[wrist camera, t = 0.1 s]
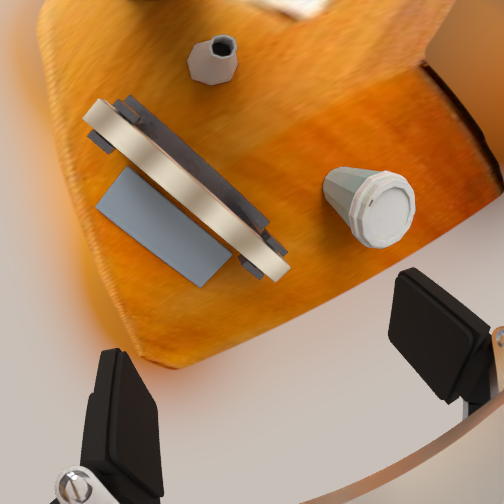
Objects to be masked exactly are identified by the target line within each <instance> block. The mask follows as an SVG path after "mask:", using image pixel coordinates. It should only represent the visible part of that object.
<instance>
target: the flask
mask: <svg viewBox="0 0 504 504" xmlns="http://www.w3.org/2000/svg"><path fill="white" fill-rule="evenodd" d="M236 50H237V44H236V41H235V38H233V37H230V36H228V35H225V34H223V35H217V36H213V37H212V39H211V40H209V41H205V42H200V43H196V44H195V45H194V47H193V49H192V51H191V53H190V55H189V57H188V59H187V64H188V68H189V72H190V75H191V79H193V80H196V81H199V82H201V83H204V84H207V85H209V86H212V85H216V84H220V83H225V82H229V81H231V79H232V77H233V75H234V72H235V70H236V68H237V66H238V61H237V57H236V53H235V52H236Z"/></svg>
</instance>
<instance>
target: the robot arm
mask: <svg viewBox="0 0 504 504" xmlns="http://www.w3.org/2000/svg"><path fill="white" fill-rule="evenodd" d="M490 328H491V327H490V326H489V325H487V324H486V323H485V322H484V321H483V320H482V319H480V318H479V317H478V316H477V315H476V314H474V313H473V312H472V311H471V310H469V309H468V308H467V307H466V306H464V305H463V304H462V303H461V302H459V301H458V300H457V299H456V298H454V297H453V296H452V295H450V294H449V293H448V292H447V291H445V290H444V289H443V288H442V287H440V286H439V285H438V284H436V283H435V282H434V281H432V280H431V279H430V278H428V277H427V276H426V275H424V274H423V273H422V272H420V271H419V270H418V269H416V268H414V267H413V268H409V269H407V270H403V271H401V272H400V273H399V274H398V277H397V278H396V280H395V288H394V295H393V303H392V310H391V318H390V324H389V330H388V337H389V340H390V342H391V343H392V344H393V345H394V346H395V347H396V349H397V350H398V351H399V352H400V353H401V354H402V355H403V357H404V358H405V359H406V360H407V361H408V362H409V364H410V365H411V366H412V367H413V368H414V369H415V370H416V372H417V373H418V374H419V375H420V376H421V378H422V379H423V380H424V381H425V382H426V383H427V385H428V386H429V387H430V388H431V389H432V391H433V392H435V394H436V395H437V396H438V398H439V399H441V400H445V402H446V403H447V404H448V405H449V404H450V403H452V402H453V401H455V400H456V399H458V398H459V396H461V397H462V398H463V421H462V422H461V423H460V424H458V425H456V426H455V427H454V428H452V429H451V430H449V431H448V432H446V433H445V434H443V435H442V436H440V437H439V438H437V439H436V440H434V441H432V442H431V443H429V444H428V445H426V446H424V447H423V448H421V449H419V450H418V451H416V452H414V453H413V454H411V455H409V456H407V457H406V458H404V459H402V460H400V461H398V462H397V463H395V464H393V465H391V466H389V467H387V468H385V469H383V470H381V471H379V472H377V473H375V474H373V475H371V476H368V477H366V478H364V479H362V480H360V481H358V482H355V483H353V484H351V485H348V486H346V487H344V488H341V489H339V490H336V491H334V492H331V493H328V494H326V495H323V496H320V497H318V498H315V499H312V500H309V501H306V502H303V503H300V504H504V326H501V327H498V328H496V329H495V330H494V331H493V333H492V335H491V334H489V330H490ZM55 494H56V496H57V498H56V499H55V500H53V501H52V502H51V503H50V504H160V497H163V496H164V487H163V478H162V467H161V456H160V443H159V427H158V410H157V406H156V403H155V401H154V399H153V398H152V396H151V394H150V393H149V391H148V390H147V388H146V386H145V384H144V383H143V381H142V379H141V377H140V376H139V374H138V372H137V370H136V368H135V367H134V365H133V363H132V361H131V359H130V357H129V355H128V354H127V352H126V351H124V352H122V351H121V350H120V349H119V348H115V349H110V350H104V351H102V352H101V355H100V360H99V366H98V371H97V376H96V382H95V387H94V393H91V394H90V396H89V399H88V405H87V411H86V418H85V425H84V432H83V441H82V450H81V460H80V466H71V467H68V468H66V469H64V470H63V471H62V472H61V473H60V474H59V475H58V477H57V479H56V482H55Z"/></svg>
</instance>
